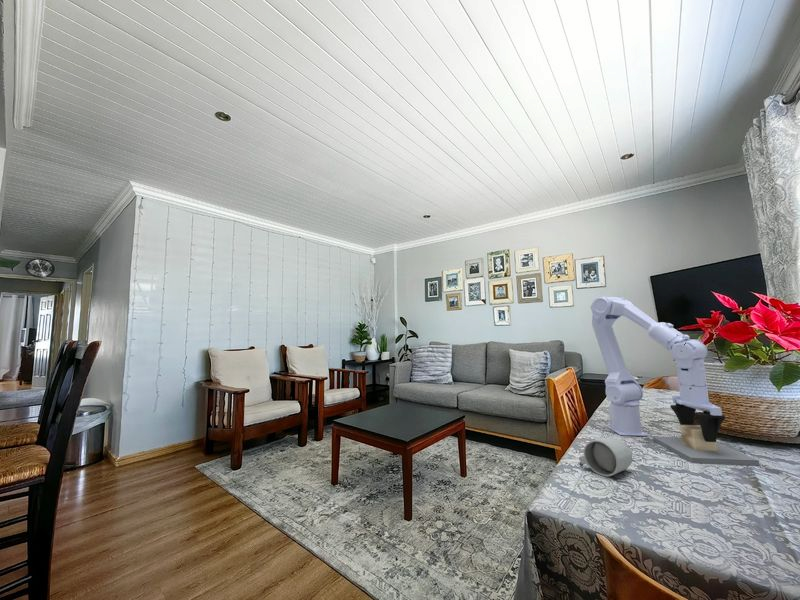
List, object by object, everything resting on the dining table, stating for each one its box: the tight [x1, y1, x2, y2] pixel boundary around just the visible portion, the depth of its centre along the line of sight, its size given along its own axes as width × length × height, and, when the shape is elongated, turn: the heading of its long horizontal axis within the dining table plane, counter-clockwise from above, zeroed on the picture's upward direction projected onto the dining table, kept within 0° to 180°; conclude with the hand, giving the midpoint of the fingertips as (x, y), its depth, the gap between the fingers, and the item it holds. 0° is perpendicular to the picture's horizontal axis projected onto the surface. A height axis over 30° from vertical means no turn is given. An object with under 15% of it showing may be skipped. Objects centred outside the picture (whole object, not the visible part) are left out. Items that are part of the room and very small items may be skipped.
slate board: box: [652, 436, 760, 466], centre depth 85 cm, size 16×14×1 cm
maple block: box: [679, 424, 718, 451], centre depth 85 cm, size 5×5×5 cm
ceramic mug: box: [578, 436, 633, 478], centre depth 77 cm, size 11×8×8 cm
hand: (698, 436), depth 85 cm, fingers open, 7 cm apart
